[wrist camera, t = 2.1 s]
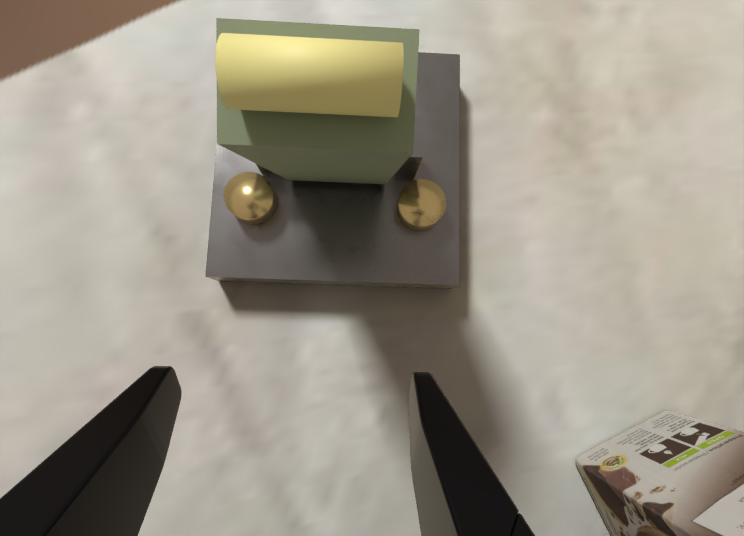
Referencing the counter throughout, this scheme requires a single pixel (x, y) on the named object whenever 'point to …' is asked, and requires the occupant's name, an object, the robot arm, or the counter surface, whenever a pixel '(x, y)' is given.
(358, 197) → the base
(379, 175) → the green lever
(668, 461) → the coffee box
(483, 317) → the counter surface
